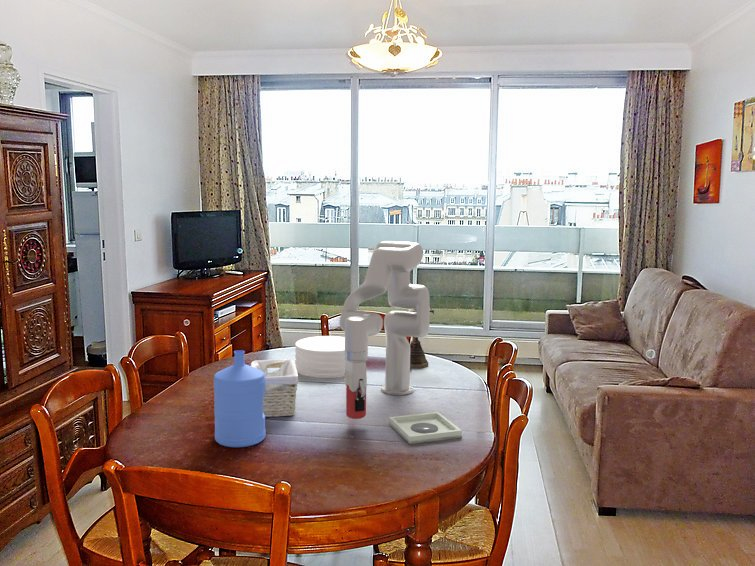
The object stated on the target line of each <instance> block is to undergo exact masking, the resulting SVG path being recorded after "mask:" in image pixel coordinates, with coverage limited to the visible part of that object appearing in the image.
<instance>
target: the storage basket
mask: <svg viewBox="0 0 755 566" xmlns="http://www.w3.org/2000/svg"><path fill="white" fill-rule="evenodd" d="M250 366H252V367H254V368H257V369H259V370H262V371H263V372H264V374H265V395H264V396H263V413H264V415H265V418H268V417H269V418H271V417H272V418H273V417H287V416H290V417H291V416H294V415H295V413H296V412H295V411H296V398H297V390H298V384H299V373H298V372H297V369H296V364H295V361H294V359H291V358H290V359H288V358H287V359H284V358H283V359H264V360H263V359H260V360H259V359H258V360H253V361H252V362H251V363H250ZM269 368H270V369H273V368H274V369H275V368H277V370H274V371H272V372H268V370H267V369H269Z"/></svg>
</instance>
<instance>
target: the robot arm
mask: <svg viewBox="0 0 755 566" xmlns="http://www.w3.org/2000/svg"><path fill="white" fill-rule="evenodd" d="M423 251H424V250H423V247H422V245H421V244H420V243H419V242H415V241H414V242H413V241H399V240H383V241H380V242H378V243H377V244H376V247H375V249H374V251H373V252H372V254H371V258H370V261H369V265H368V268H367V271H366V275H365V277H364V281H363V283H362V284H360V285H359V286H357V287H356V288H355V289H354V290H353V291H352V292H351V293H350V294H349V295H348V296H347V297H346V299H345V301H344V303H343V306H342V310H341V313H340V318H339V327H340V329H341V330H342V331H343V332H344V337H345V360H346V361H345V376H344V377H343V378H344V379H343V380H344V385H345V386H346V387H347V384H348V385H349V389H350V390H351V391H352V392H354V391H355V396H356V400H355V411H356V412H359V411H364V410H365V394H366V395H367V386H368V385H367V384H368V383H367V382H368V380H367V379H368V376H367V375H368V374H367V364H366V363H367V362H366V361H368V359H369V354H368V353H369V348H368V347H369V337H373V336H375V335H378V334H379V333H380V332H381V330H382V329H383V326H384V334H385V371H384V372H385V373H384V374H385V377H384V381H385V384H383V385H381V387H380V391H381V392H383V393H384V394H386V395H393V396H405V395H410V394H412V393H413V392H414V387H413V386H412V385H411V384H410V379H411V377H410V376H411V368H410V342H409V340H408V339H407V337H409V338H410V337H411V338H413V337H418V339H419V338H422V339H423V338H425V337H427V335H428V334H429V332H430V312H429V310H430V306H431V304H430V292H429V289H428V287H427V286H425V285H423V284H413V283H411V279H410V278H411V277H410V276H411V275H410V274H411V273H410V272H411V271H412V270H414V269H415V268H417V267H418V266H419V265H420V263H421V262H422V260H423V256H424V254H423V253H424V252H423ZM386 293H387V303H388V305H389V306H390V307H391V308H395V309H396V308H397V309H403V310H391V311H388V312H387V313H385V315H384V318H383V317H382V316H381V314H379V313H376V312H372V311H371V312H369V311H362V310H356V309H357V307H358V306H359V305H360V304H362V303H364V302H366V301H369V300H371V299H374V298H376V297H379V296H382V295H385V294H386ZM405 309H406V310H407V311H406V310H405ZM408 309H413V311H414V310H415V312H408ZM357 388H360V390H357ZM365 390H366V391H365ZM358 392H360V394H359V395H358Z"/></svg>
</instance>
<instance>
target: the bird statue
mask: <svg viewBox="0 0 755 566" xmlns="http://www.w3.org/2000/svg"><path fill="white" fill-rule="evenodd" d="M407 311H408V312H415V310H413V309H407ZM434 312H435V310H434V309H432V307H431V305H430V310H429V313H432V314H433V315H435V313H434ZM409 344H410V369H424V368H426V367H429V361H428V359H427V358H426V352H425V351H424V349H423V348H422V344H421V341H420V340H419V338H418V337H412V340H411V341H410V342H409Z"/></svg>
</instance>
